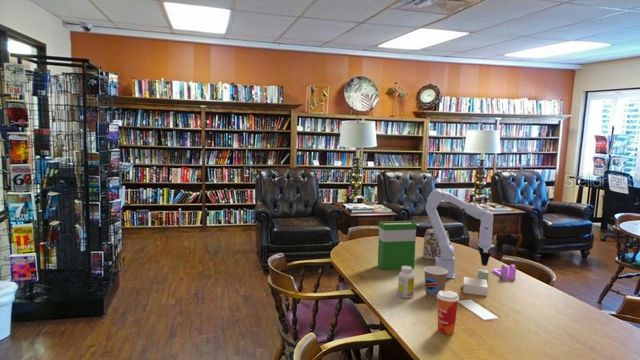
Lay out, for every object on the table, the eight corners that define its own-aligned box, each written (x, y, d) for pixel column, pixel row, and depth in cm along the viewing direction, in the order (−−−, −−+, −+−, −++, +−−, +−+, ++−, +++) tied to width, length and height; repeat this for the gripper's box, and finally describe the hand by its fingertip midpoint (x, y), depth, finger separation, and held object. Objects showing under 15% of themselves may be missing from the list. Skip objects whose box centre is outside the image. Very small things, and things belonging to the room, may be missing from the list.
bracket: (515, 279, 207) (516, 266, 206) (504, 279, 206) (505, 266, 205) (500, 270, 219) (501, 258, 219) (490, 271, 219) (491, 258, 218)
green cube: (477, 281, 202) (478, 271, 202) (477, 278, 206) (478, 269, 206) (487, 283, 201) (488, 273, 200) (487, 280, 205) (488, 270, 204)
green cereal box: (408, 264, 227) (410, 220, 225) (414, 268, 220) (416, 223, 217) (377, 265, 224) (379, 221, 221) (382, 270, 217) (384, 224, 214)
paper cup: (431, 326, 155) (433, 289, 153) (452, 325, 155) (454, 289, 154) (439, 336, 147) (441, 298, 145) (460, 336, 147) (463, 298, 146)
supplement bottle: (414, 294, 185) (415, 266, 184) (412, 299, 179) (413, 270, 177) (399, 291, 187) (400, 264, 186) (396, 297, 181) (398, 268, 180)
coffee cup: (417, 295, 184) (418, 269, 182) (431, 290, 190) (432, 264, 189) (437, 303, 176) (439, 275, 174) (451, 297, 182) (453, 270, 181)
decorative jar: (443, 262, 232) (444, 230, 230) (422, 258, 238) (424, 227, 236) (448, 256, 242) (450, 226, 240) (428, 253, 248) (430, 223, 246)
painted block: (463, 292, 188) (463, 284, 187) (463, 285, 197) (463, 277, 197) (487, 296, 184) (487, 287, 184) (486, 288, 194) (486, 279, 193)
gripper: (495, 240, 193) (493, 268, 194) (493, 233, 207) (491, 259, 208) (479, 238, 195) (477, 266, 197) (478, 231, 209) (476, 258, 210)
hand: (483, 263), depth 203 cm, fingers open, 7 cm apart
